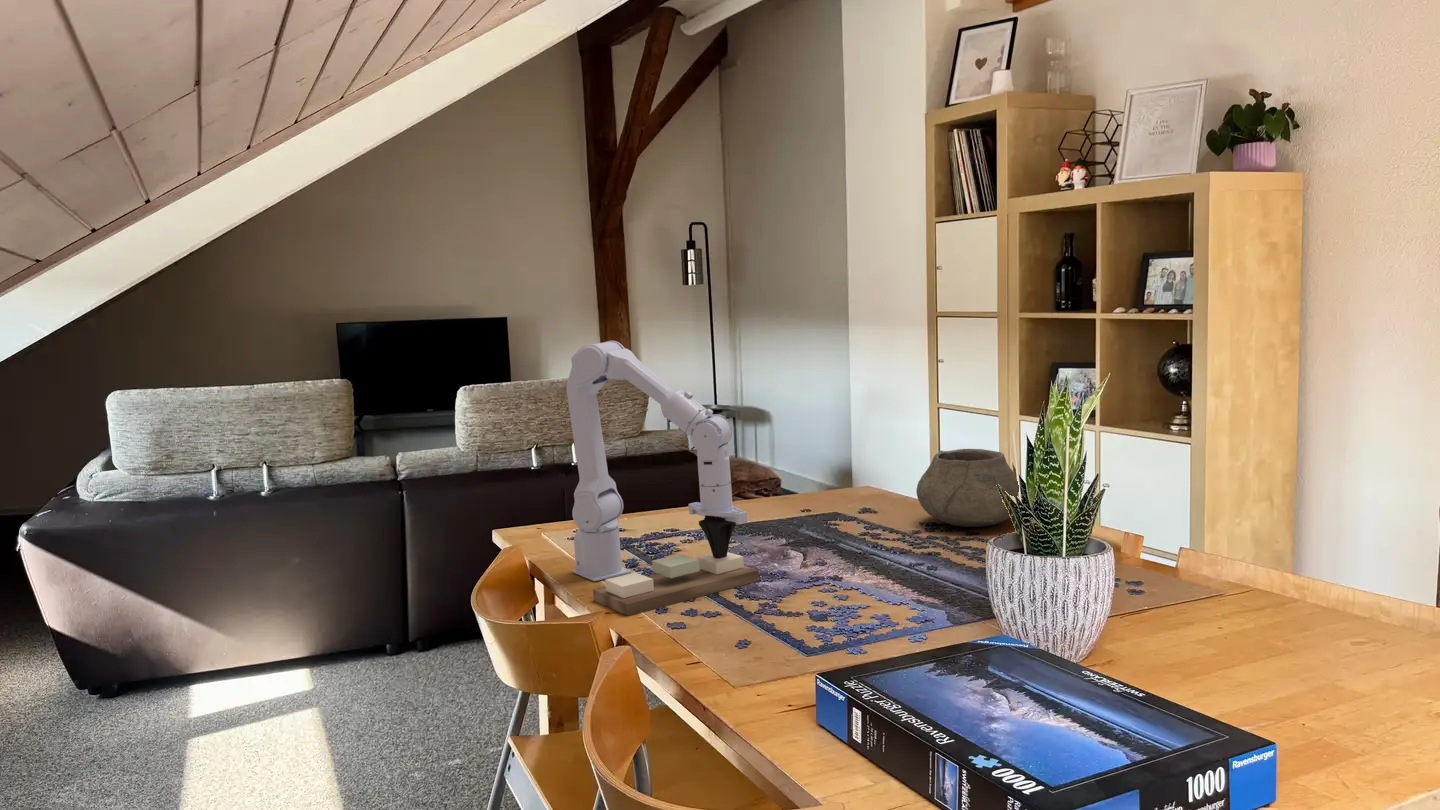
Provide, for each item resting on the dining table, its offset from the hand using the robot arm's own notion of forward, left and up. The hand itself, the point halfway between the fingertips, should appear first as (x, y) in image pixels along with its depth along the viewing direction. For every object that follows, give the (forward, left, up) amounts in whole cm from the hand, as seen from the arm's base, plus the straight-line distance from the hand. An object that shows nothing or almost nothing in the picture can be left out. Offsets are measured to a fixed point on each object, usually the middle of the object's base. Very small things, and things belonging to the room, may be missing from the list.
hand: (720, 557), depth 189 cm
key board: (0, -10, -4) cm, 10 cm away
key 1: (0, -19, -2) cm, 19 cm away
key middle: (0, -10, 0) cm, 10 cm away
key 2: (0, 0, -2) cm, 2 cm away
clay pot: (+6, +59, -4) cm, 60 cm away
